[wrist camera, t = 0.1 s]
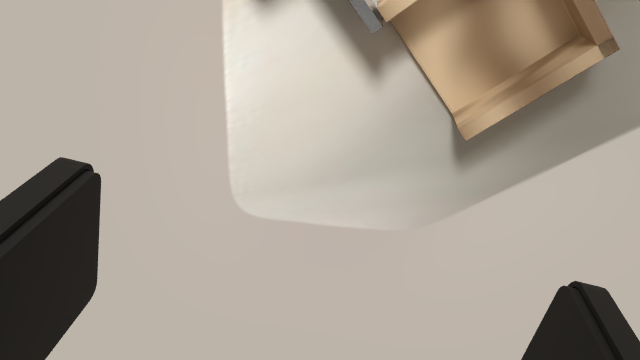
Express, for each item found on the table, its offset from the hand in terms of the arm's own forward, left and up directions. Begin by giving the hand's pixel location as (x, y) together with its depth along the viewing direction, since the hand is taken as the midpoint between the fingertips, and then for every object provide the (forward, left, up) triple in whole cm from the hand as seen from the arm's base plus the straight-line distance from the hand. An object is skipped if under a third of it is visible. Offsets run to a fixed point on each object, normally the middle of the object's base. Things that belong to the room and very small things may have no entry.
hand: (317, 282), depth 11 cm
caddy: (-7, +5, -31) cm, 32 cm away
